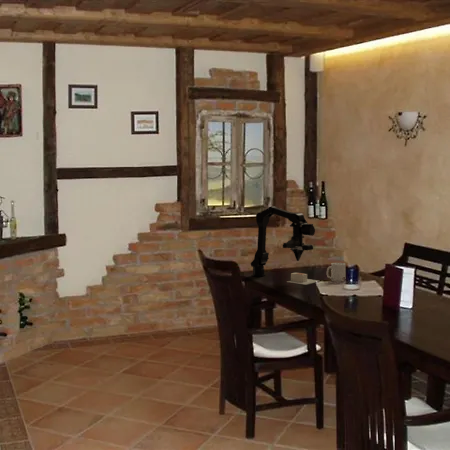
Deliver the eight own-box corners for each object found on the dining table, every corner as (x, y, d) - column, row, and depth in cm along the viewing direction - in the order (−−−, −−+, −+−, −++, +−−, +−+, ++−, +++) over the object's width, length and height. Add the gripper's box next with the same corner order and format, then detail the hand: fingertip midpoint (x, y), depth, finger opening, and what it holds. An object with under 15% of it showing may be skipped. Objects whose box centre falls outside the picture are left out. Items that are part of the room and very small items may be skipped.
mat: (286, 282, 416) (286, 281, 416) (301, 278, 426) (301, 278, 426) (305, 284, 406) (305, 284, 406) (320, 281, 416) (320, 280, 416)
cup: (348, 281, 416) (348, 264, 415) (330, 282, 411) (330, 265, 410) (340, 278, 423) (340, 262, 422) (323, 280, 419) (323, 263, 418)
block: (290, 273, 419) (303, 274, 413) (295, 272, 422) (307, 273, 416) (290, 280, 420) (303, 281, 414) (295, 279, 423) (307, 280, 417)
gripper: (276, 234, 416) (276, 261, 418) (302, 237, 404) (302, 264, 405) (288, 232, 425) (288, 258, 426) (313, 235, 412) (313, 261, 413)
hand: (297, 260), depth 418 cm, fingers closed
